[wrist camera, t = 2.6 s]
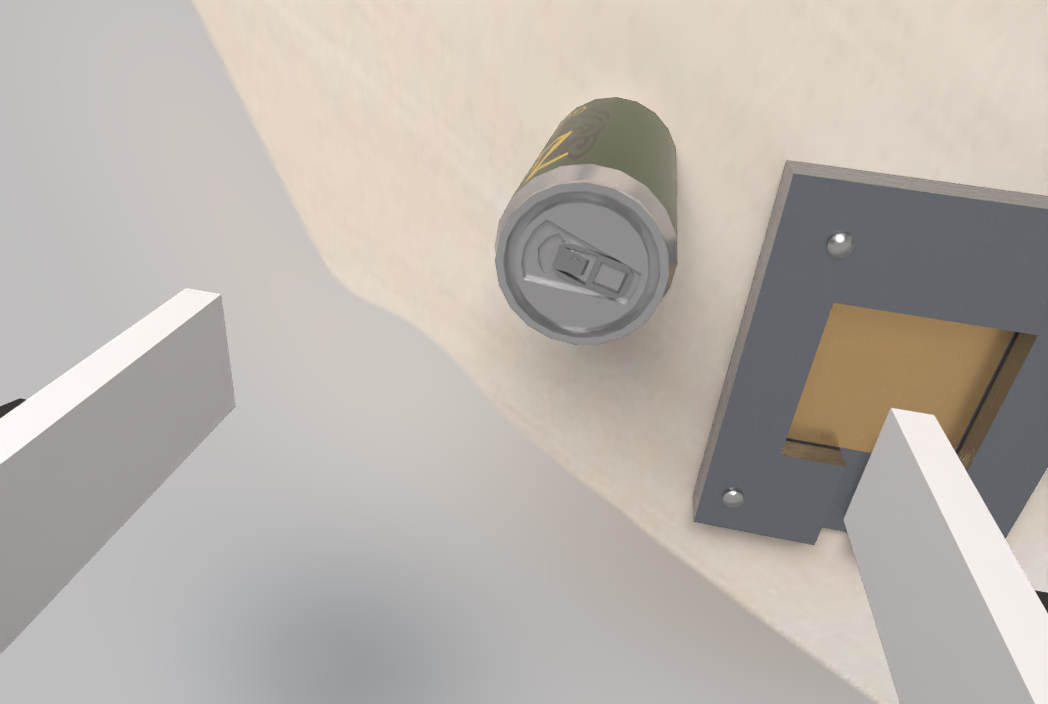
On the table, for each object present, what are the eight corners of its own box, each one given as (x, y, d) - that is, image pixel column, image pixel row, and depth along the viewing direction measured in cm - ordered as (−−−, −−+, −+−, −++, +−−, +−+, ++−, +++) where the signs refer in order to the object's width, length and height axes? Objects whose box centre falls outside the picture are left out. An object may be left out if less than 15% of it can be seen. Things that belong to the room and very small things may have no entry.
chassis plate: (786, 160, 29) (794, 174, 27) (1156, 211, 28) (1191, 230, 26) (692, 495, 38) (693, 524, 36) (967, 548, 37) (983, 580, 35)
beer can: (699, 123, 29) (712, 218, 19) (644, 239, 32) (630, 377, 22) (576, 73, 29) (522, 141, 19) (532, 193, 32) (464, 311, 22)
